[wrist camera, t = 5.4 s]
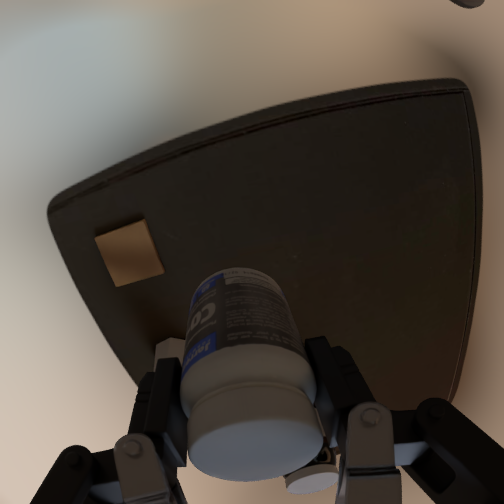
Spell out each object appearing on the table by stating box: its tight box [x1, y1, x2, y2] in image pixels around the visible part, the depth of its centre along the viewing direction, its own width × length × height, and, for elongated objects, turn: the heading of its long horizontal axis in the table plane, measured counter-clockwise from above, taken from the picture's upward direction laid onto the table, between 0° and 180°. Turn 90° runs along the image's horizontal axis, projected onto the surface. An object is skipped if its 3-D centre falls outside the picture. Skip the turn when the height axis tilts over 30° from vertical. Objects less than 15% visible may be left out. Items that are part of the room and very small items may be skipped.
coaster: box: [95, 219, 165, 287], centre depth 28 cm, size 6×6×1 cm
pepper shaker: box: [154, 337, 185, 372], centre depth 28 cm, size 5×5×11 cm
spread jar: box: [283, 406, 339, 494], centre depth 34 cm, size 12×11×12 cm
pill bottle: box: [179, 268, 323, 482], centre depth 11 cm, size 5×5×8 cm
